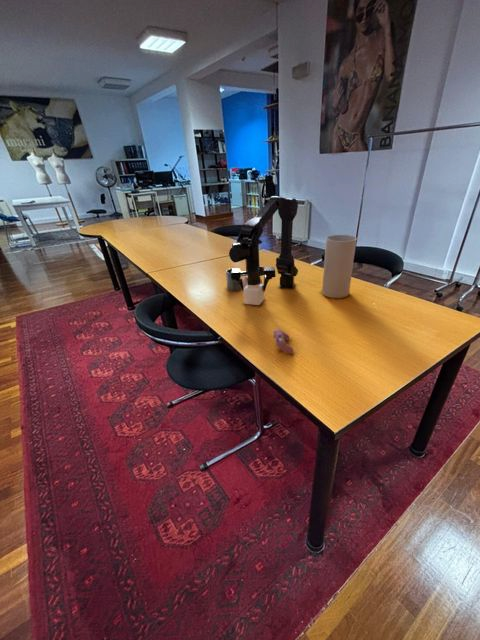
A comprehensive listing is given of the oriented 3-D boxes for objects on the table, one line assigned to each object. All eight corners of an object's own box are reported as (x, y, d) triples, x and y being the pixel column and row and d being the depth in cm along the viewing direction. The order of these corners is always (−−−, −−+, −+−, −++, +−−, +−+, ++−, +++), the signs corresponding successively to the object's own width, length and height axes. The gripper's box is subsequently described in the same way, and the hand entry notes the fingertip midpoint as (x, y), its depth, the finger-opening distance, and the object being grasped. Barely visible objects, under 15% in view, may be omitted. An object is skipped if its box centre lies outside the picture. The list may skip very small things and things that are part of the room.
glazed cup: (244, 286, 150) (242, 268, 145) (238, 291, 144) (237, 273, 139) (230, 285, 152) (229, 267, 147) (225, 290, 146) (223, 272, 141)
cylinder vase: (316, 294, 138) (320, 238, 125) (330, 286, 146) (336, 233, 132) (340, 301, 131) (347, 242, 118) (353, 292, 139) (362, 237, 125)
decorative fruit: (253, 297, 137) (253, 276, 132) (240, 293, 142) (239, 273, 136) (266, 291, 144) (265, 271, 138) (252, 287, 148) (251, 268, 142)
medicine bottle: (264, 299, 134) (263, 273, 127) (259, 305, 128) (257, 279, 122) (250, 297, 136) (248, 272, 130) (244, 304, 131) (242, 277, 124)
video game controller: (278, 343, 105) (269, 328, 102) (290, 337, 105) (281, 322, 101) (282, 359, 97) (273, 343, 94) (295, 353, 96) (285, 337, 93)
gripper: (229, 263, 114) (232, 300, 123) (276, 261, 115) (277, 298, 124) (229, 255, 124) (232, 290, 132) (273, 253, 124) (274, 288, 133)
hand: (253, 292), depth 130 cm, fingers closed on medicine bottle, 8 cm apart
